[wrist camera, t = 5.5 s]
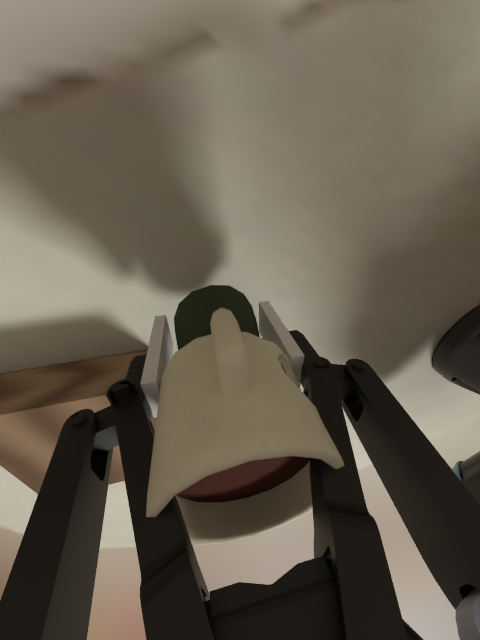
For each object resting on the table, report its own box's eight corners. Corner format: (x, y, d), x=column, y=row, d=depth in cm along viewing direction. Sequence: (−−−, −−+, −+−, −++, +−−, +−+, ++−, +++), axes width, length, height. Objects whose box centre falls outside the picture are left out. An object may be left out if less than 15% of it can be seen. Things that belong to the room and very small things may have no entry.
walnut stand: (152, 348, 23) (146, 387, 19) (178, 427, 30) (178, 467, 26) (-6, 375, 21) (-53, 425, 16) (65, 452, 28) (45, 500, 24)
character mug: (256, 358, 22) (323, 529, 11) (182, 371, 21) (179, 572, 10) (255, 244, 16) (393, 379, 5) (153, 255, 15) (73, 445, 4)
